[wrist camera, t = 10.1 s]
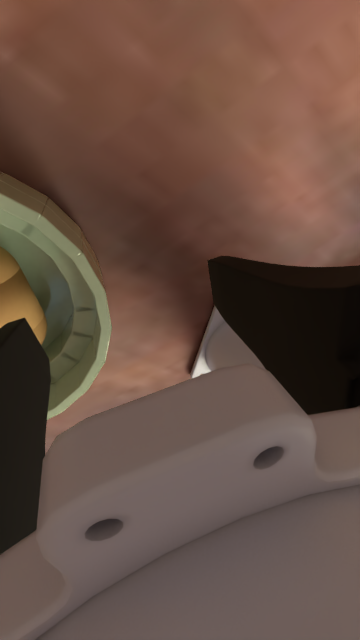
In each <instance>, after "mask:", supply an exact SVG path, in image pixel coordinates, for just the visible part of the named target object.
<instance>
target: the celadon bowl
mask: <svg viewBox="0 0 360 640" xmlns="http://www.w3.org/2000/svg"><path fill="white" fill-rule="evenodd" d="M0 246H1V247H2V248H4V249H5V250H7V251H8V252H9V253H10V254H11V255H12V256H13V257H14V258H15V260H16V261H17V263H18V264H19V266H20V268H21V270H22V272H23V273H24V275H25V277H26V279H27V281H28V283H29V285H30V287H31V289H32V290H33V292H34V294H35V296H36V298H37V300H38V302H39V304H40V306H41V308H42V309H43V312H44V314H45V317H46V321H47V331H46V336H45V339H44V341H43V343H42V345H41V346H42V347H43V349H44V351H45V353H46V354H47V356H48V358H49V362H50V375H51V384H50V395H49V405H48V414H47V420H48V419H50V418H52V417H54V416H56V415H58V414H60V413H61V412H63V411H64V410H65V409H67V408H68V407H69V406H70V405H71V404H72V403H74V402H75V401H76V400H77V399H78V398H79V397H80V396H82V395H83V394H84V393H85V392H86V391H87V390H88V389H89V387H90V386H91V384H92V382H93V381H94V379H95V378H96V376H97V374H98V373H99V371H100V369H101V368H102V366H103V364H104V363H105V361H106V356H107V351H108V346H109V341H110V336H111V331H112V325H111V319H110V314H109V308H108V303H107V297H106V292H105V287H104V283H103V279H102V274H101V270H100V266H99V261H98V259H97V257H96V256H95V254H94V252H93V250H92V248H91V247H90V245H89V243H88V241H87V239H86V238H85V236H84V234H83V232H82V230H81V229H80V227H79V226H78V225H77V224H76V223H75V222H74V221H73V220H71V219H70V218H69V217H68V216H67V215H66V214H65V213H64V212H63V211H62V210H61V209H60V208H59V207H58V206H57V205H56V204H55V203H54V202H53V201H52V200H51V199H50V198H48V197H47V196H45V195H44V194H42V193H40V192H38V191H36V190H35V189H33V188H31V187H29V186H27V185H26V184H24V183H22V182H20V181H18V180H17V179H15V178H13V177H11V176H9V175H8V174H4V173H3V172H0Z"/></svg>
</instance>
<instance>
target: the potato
mask: <svg viewBox="0 0 360 640" xmlns="http://www.w3.org/2000/svg"><path fill="white" fill-rule="evenodd" d="M24 317H25V318H26V320H27V322H28V323H29V325H30V327H31V329H32V330H33V332H34V334H35V335H36V337H37V339H38V341H39V342H40V344H41V345H42V343H43V341H44V339H45V336H46V331H47V321H46V317H45V314H44V312H43V309H42V308H41V306H40V304H39V302H38V300H37V298H36V296H35V294H34V292H33V290H32V289H31V287H30V285H29V283H28V281H27V279H26V277H25V275H24V273H23V272H22V270H21V268H20V266H19V264H18V263H17V261H16V260H15V258H14V257H13V256H12V255H11V254H10V253H9V252H8V251H7V250H5V249H4V248H2V247H1V246H0V328H1V327H2V326H4V325H5V324H7V323H8V322H12V321H15V320H18V319H21V318H24Z"/></svg>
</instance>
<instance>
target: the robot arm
mask: <svg viewBox="0 0 360 640" xmlns="http://www.w3.org/2000/svg"><path fill="white" fill-rule="evenodd" d="M207 261H208V267H209V274H210V281H211V288H212V295H213V302H214V305H215V306H214V309H213V311H212V314H211V317H210V320H209V323H208V326H207V328H206V331H205V334H204V337H203V340H202V343H201V345H200V348H199V351H198V354H197V357H196V360H195V362H194V365H193V368H192V371H191V374H190V375H191V377H192V379H189V380H187V381H184V382H181V383H179V384H176V385H173V386H171V387H168V388H165V389H163V390H160V391H157V392H155V393H152V394H149V395H147V396H144V397H141V398H139V399H136V400H133V401H131V402H128V403H125V404H123V405H120V406H117V407H115V408H112V409H109V410H107V411H104V412H101V413H99V414H96V415H93V416H91V417H88V418H86V419H84V420H83V421H81V422H79V423H78V424H76V425H74V426H73V427H71V428H69V429H68V430H66V431H64V432H63V433H61V434H60V435H58V436H57V437H56V438H55V440H54V442H53V443H52V445H51V447H50V448H49V450H48V452H47V453H46V455H45V433H46V423H47V414H48V405H49V395H50V384H51V375H50V362H49V358H48V356H47V354H46V353H45V351H44V349H43V347H42V346H41V344H40V342H39V341H38V339H37V337H36V335H35V334H34V332H33V330H32V329H31V327H30V325H29V323H28V322H27V320H26V318H25V317H24V318H21V319H18V320H15V321H12V322H8V323H7V324H5V325H4V326H2V327H1V328H0V640H360V265H359V266H345V267H298V266H286V265H278V264H270V263H264V262H258V261H253V260H247V259H242V258H236V257H230V256H220V257H217V258H214V259H210V260H207ZM200 374H202V375H200Z"/></svg>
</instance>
